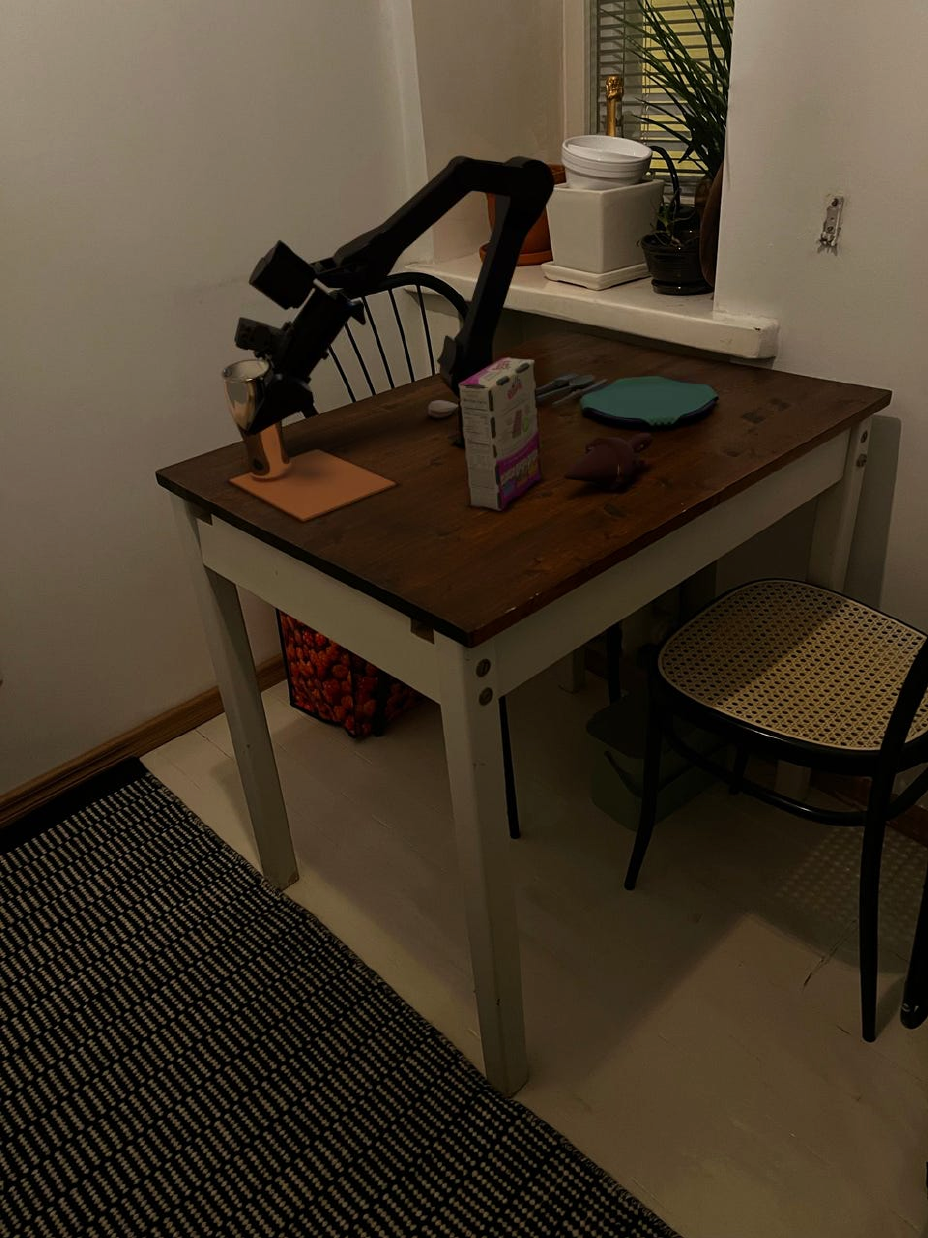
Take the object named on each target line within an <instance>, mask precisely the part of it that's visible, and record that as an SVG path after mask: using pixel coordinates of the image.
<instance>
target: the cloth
mask: <svg viewBox="0 0 928 1238" xmlns="http://www.w3.org/2000/svg"><path fill="white" fill-rule="evenodd" d="M290 458H291V461H292V466H291V468H290V469H289V470H288V471H287V472H286V473H284V474H282V475H280V476H277V477H273V478H257V477H255V476H253V475H252V474H251V473H250V472H248V473H243V474H242V475H239V476H236V477H233V478H230V479H229V480H228V481H229V483H230V484H232V485H234V486H236V487H238V488H239V489H242V490H243V491H245V492H247V493H249V494H251V495H252V496H255V497H256V498H258V499H260V500H262V501H263V502H265V503H267V504H269V505H271V506H273V507H275V508H277V509H279V510H280V511H283V512H284V513H286V514H288V515H290V516H291V517H293V518H295V519H297V520H298V521H301V522H302V523H305V522H307V521H309V520H312V519H314V518H317V517H319V516H322V515H324V514H328V513H331V512H333V511H334V510H337V509H340V508H342V507H345V506H348V505H350V504H353V503H355V502H359V501H360V500H363V499H365V498H368V497H370V496H373V495H376V494H378V493H380V492H384V491H386V490H389V489H391V488H393V487H395V486H397V482H395V481H392V480H390V479H389V478H385V477H383V476H381V475H379V474H376V473H374V472H372V471H369V470H367V469H366V468H362V467H360V466H358V465H356V464H354V463H351V462H348V461H346V460H344V459H341V458H339V457H337V456H335V455H332V454H330V453H328V452H325V451H323V450H320V449H318V448H316V449H313V450H310V451H308V452H305V453H301V454H299V455H296V456H293V457H290Z"/></svg>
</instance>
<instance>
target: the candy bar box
mask: <svg viewBox="0 0 928 1238" xmlns="http://www.w3.org/2000/svg"><path fill="white" fill-rule="evenodd" d="M458 386H459V395H460V399H459V401H460V405H461V415H462V425H463V434H464V443H465V448H464V454H465V461H466V473H467V483H468V492H469V493H468V494H469V502H470V506H472V507H475V508H479V509H485V510H486V509H487V510H493V511H499V512H501V511H504V509H506V508H507V507H508V506H509V505H510V504H512V503H513V502H514V501H516V500H517V499H518V498H519V497H521V495H523V494H524V493H525V492H527V490H529V489H530V488H531V487H533V486H534V485H535V484H536V483H537V482H539V481H540V480H542V473H541V455H540V454H541V453H540V438H539V425H538V424H539V422H538V401H537V400H536V397H537V394H536V389H537V383H536V367H535V360H534V359H527V358H517V357H515V358H513V357H511V356H510V357H502V358H500V359H499V360H497V361H495V362H493V364H492V365H490V366H488V367H486V368H485V369H483V370H481V371H480V372H478V373H476V374H475V375H473V376H471V377H470V378H468V379H466V380H465V381H463V382H461V383H460V384H458Z"/></svg>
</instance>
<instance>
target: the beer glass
mask: <svg viewBox="0 0 928 1238" xmlns="http://www.w3.org/2000/svg"><path fill="white" fill-rule="evenodd" d="M261 359H262V358H259V359H258V358H248V359H243V360H239V361H236V362H233V363H231V364H229V365H227V366H225V368H224V369H223V370H222V372H221V374H220V375H221V379H222V383H223V390H224V394H225V399H226V402H227V407H228V410H229V413H230V415H231V417H232V420H233V422H234V424H235V426H236V429H237V430H238V433H239V435H240V436H241V439H242V441H243V443H244V446H245V449H246V451H247V452H246V453H247V460H248V471H249V473H251V474H252V475H253V476H255V477H257V478H273V477H277V476H280V475H282V474H284V473H286V472H287V471H288V470H289V469H290V468H291V466H292V461H291V458H292V457H291V456H290V454H289V452H288V450H287V447H286V444H285V441H284V433H283V420H281V421H279V422H277V423H275V424H274V425H272V426H270V427H268V428H267V429H265V430H263V431H261V432H259V433H258V434H256V435H252V434H250V433H249V432H248V427H249V425H250V423H251V421H252V419H253V417H254V414H255V412H256V410H257V408H258V406H259V404H260V402H261V400H262V398H263V391H262V386H261V380H263V381H264V380H265V377H266V375H267V373H268V372H269V371H270V369H271V366H270V364H269V363H268V362H267V361H265V360H261Z"/></svg>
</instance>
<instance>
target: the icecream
mask: <svg viewBox="0 0 928 1238" xmlns="http://www.w3.org/2000/svg"><path fill="white" fill-rule="evenodd" d="M653 441H654V438H653V436H652V434H650V433H649V432H641V433H638V434H636V435H634V436H633V437H632V439H630V441H628V442H627V441H625V440H624V439H623V438H620V437H618V436H616V437H602V436H599V437H596V438H595V439H593V440H592V441H590V442H588V443H587V444H585V454H584V456H582V457H581V458H580V459H579V460H578V461H577V462H576V463H574V464H573V465H572V466H571V467H570V468H569V469H568V470H566V472H564V473H563V475H562V476H563V478H564V479H566V480H572V481H573V480H574V481H578V482H579V481H581V482H587V483H593V484H594V485H596V487H597V488H600V489H603V490H606V491H609V492H614V491H615V490H617V488H618V487H620V486H621V485H624V484H626V483H628V482H629V481H630V479H631V477H632V476H633V474H637V473H639V472H641V471H642V470H643V469H644V467H645V461H644V460H643V459H642V458H640V457H637V454H639V453H641V452H643V451H644V450H646V449H647V448H649V447H650V446H651V445H652V443H653Z"/></svg>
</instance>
